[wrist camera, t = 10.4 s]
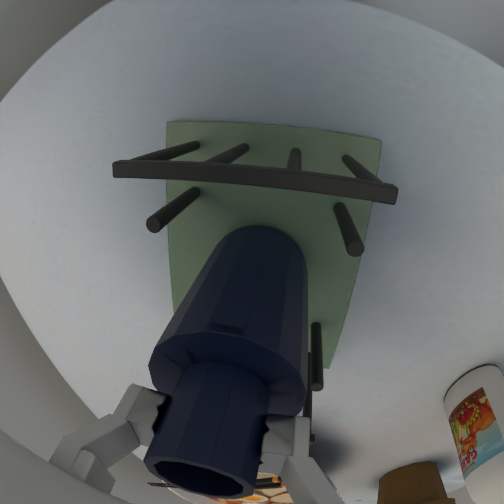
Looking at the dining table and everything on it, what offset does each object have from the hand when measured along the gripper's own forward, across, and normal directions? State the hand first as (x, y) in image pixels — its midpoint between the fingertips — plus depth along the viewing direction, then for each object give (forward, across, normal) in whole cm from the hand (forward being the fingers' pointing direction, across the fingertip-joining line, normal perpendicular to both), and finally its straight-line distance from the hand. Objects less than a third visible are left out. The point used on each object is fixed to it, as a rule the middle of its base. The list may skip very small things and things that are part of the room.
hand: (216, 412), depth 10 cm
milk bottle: (+13, -25, +13) cm, 31 cm away
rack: (+13, 0, 0) cm, 13 cm away
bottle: (+11, 0, 0) cm, 11 cm away
